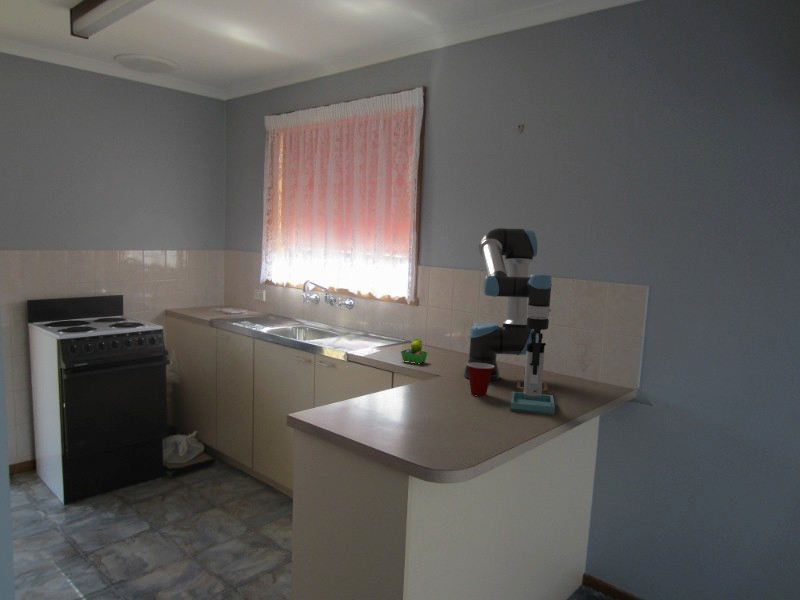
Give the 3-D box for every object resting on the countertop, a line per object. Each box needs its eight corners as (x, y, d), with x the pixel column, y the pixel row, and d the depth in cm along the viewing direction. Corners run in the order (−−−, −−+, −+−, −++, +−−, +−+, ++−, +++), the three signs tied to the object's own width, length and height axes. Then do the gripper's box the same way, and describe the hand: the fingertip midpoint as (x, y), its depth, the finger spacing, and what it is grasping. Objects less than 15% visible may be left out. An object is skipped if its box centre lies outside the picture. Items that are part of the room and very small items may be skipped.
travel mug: (538, 400, 200) (542, 344, 197) (521, 396, 203) (524, 342, 201) (544, 396, 205) (548, 342, 203) (526, 393, 208) (530, 339, 206)
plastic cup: (496, 393, 221) (498, 363, 220) (488, 399, 212) (490, 368, 210) (469, 388, 226) (471, 359, 224) (460, 395, 216) (462, 364, 215)
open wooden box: (516, 397, 216) (516, 387, 215) (516, 389, 227) (517, 380, 227) (547, 400, 213) (548, 390, 213) (546, 392, 225) (546, 382, 224)
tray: (510, 411, 199) (510, 402, 199) (511, 399, 214) (511, 391, 213) (554, 415, 196) (554, 407, 195) (552, 403, 210) (552, 395, 210)
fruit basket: (399, 362, 268) (400, 338, 266) (409, 358, 275) (409, 336, 274) (420, 365, 262) (421, 341, 260) (429, 362, 269) (430, 339, 268)
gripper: (550, 322, 191) (545, 388, 193) (547, 314, 209) (543, 375, 212) (527, 320, 192) (523, 386, 195) (527, 313, 211) (523, 373, 214)
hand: (533, 380), depth 203 cm, fingers closed on travel mug, 6 cm apart
